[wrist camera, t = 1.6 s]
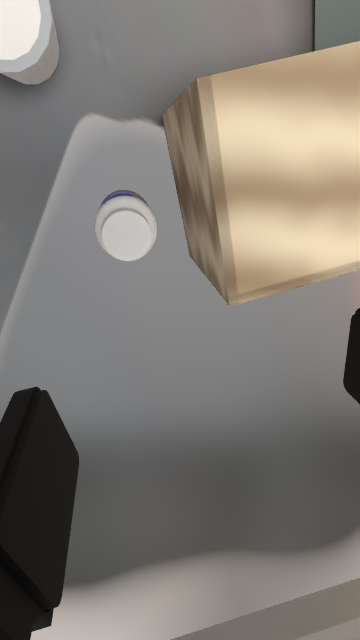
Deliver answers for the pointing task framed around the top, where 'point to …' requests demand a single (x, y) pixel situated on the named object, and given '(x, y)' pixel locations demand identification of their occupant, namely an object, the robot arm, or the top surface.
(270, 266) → the cabinet
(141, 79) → the top surface
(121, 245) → the pill bottle
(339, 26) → the door
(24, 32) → the white cup
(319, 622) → the robot arm
